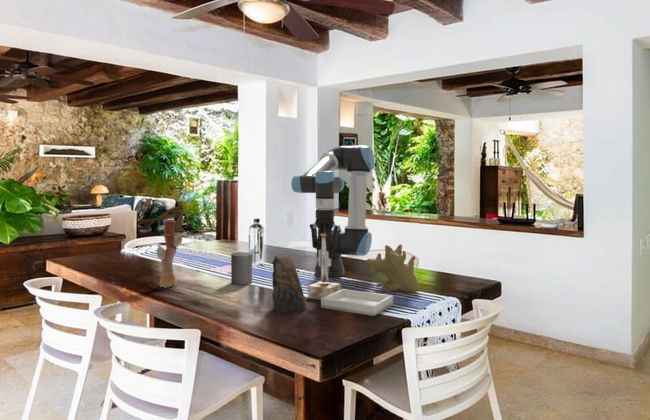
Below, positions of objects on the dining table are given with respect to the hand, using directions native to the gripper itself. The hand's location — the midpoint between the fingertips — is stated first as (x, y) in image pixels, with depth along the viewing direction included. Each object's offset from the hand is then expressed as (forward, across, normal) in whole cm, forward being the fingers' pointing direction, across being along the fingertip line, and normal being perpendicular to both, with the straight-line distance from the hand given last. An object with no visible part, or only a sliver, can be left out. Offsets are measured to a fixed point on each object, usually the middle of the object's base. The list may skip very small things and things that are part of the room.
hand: (324, 265), depth 199 cm
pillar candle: (+13, -46, +3) cm, 48 cm away
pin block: (+13, 0, 0) cm, 13 cm away
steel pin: (+7, 0, 0) cm, 7 cm away
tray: (+13, +18, -6) cm, 23 cm away
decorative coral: (+13, +19, +28) cm, 36 cm away
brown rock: (+13, -3, -22) cm, 26 cm away
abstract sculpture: (+13, -69, -19) cm, 73 cm away
